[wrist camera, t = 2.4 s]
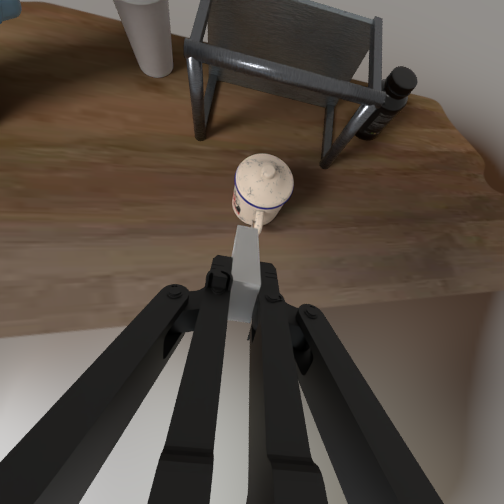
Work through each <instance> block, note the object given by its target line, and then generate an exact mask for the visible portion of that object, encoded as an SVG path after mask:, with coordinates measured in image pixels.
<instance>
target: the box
mask: <svg viewBox="0 0 504 504" xmlns="http://www.w3.org/2000/svg"><path fill="white" fill-rule="evenodd" d="M207 22H208V44H206V43H202V41H203V37H204V34H205V30H206V26H207ZM368 50H369V80H368V87H364V86H361V85H357V84H353V83H350V80H351V79H352V77H353V75H354V74H355V72H356V70H357V68H358V67H359V65H360V64H361V62H362V60H363V58H364V57H365V55H366V53H367V52H368ZM184 57H185V58H186V60H187V69H188V78H189V87H190V96H191V105H192V114H193V123H194V132H195V138H196V139H197V140H198V141H203V140H205V138H206V133H205V132H206V128H207V123H208V119H209V114H210V110H211V106H212V101H213V97H214V93H215V88H216V84H217V80H219V81H223V82H227V83H231V84H235V85H239V86H243V87H247V88H251V89H255V90H259V91H262V92H266V93H270V94H274V95H278V96H282V97H286V98H290V99H294V100H298V101H302V102H305V103H309V104H313V105H317V106H321V107H325V119H324V131H323V142H322V154H321V161H320V167H321V168H323V169H327V168H328V167H329V166H330V165H331V163H332V162H333V161H334V160H335V158H336V157H337V156H338V155H339V154H340V152H341V151H342V150H343V149H344V147H345V146H346V145H347V144H348V142H349V141H350V140H351V139H352V137H353V136H354V135H355V134H356V132H357V131H358V130H359V129H360V127H361V126H362V125H363V124H364V123H365V121H366V120H367V119H368V118H369V116H370V115H371V114H372V113H373V111H374V110H375V109H376V108H377V109H378V108H380V107H381V106H382V104H383V102H384V100H385V97H386V92H383V91H381V81H382V80H381V79H382V18H379V17H376V16H375V18H374V19H373V20H372V19H369V18H366V17H362V16H359V15H356V14H353V13H349V12H346V11H343V10H340V9H336V8H333V7H330V6H327V5H323V4H320V3H317V2H314V1H310V0H201V1H200V4H199V8H198V11H197V15H196V18H195V22H194V26H193V30H192V33H191V36H190V39H187V38H185V41H184ZM202 63H205V64H209V80H208V84H207V88H206V92H205V96H204V92H203V72H202ZM339 99H343V100H347V101H350V102H354V103H358V104H361V106H360V107H359V109H358V110H357V111H356V113H355V114H354V115H353V117H352V118H351V120H350V121H349V122H348V124H347V125H346V127H345V128H344V129H343V131H342V132H341V134H340V135H339V136H338V138H337V139H336V140H335V142H334V143H333V145H332V146H331V142H332V128H333V115H334V107H335V105H336V104H337V102H338V100H339Z"/></svg>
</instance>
